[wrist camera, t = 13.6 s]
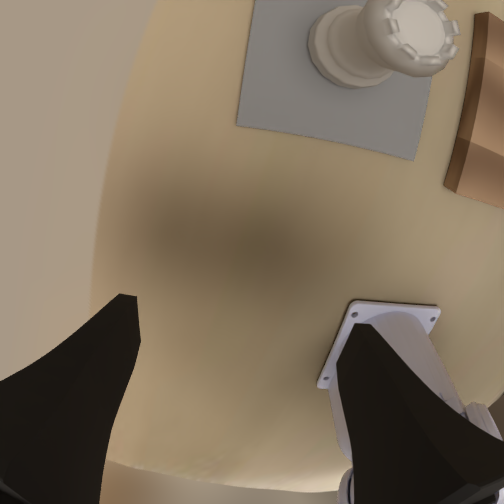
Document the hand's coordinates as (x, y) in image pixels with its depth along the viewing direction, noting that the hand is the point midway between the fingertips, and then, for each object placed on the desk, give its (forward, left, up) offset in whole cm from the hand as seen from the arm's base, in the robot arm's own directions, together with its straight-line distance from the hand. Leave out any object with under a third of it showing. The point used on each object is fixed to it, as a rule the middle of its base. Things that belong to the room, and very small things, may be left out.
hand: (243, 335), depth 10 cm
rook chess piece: (+11, -4, -9) cm, 14 cm away
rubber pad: (+10, -4, -9) cm, 14 cm away
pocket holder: (+10, -18, -9) cm, 23 cm away
